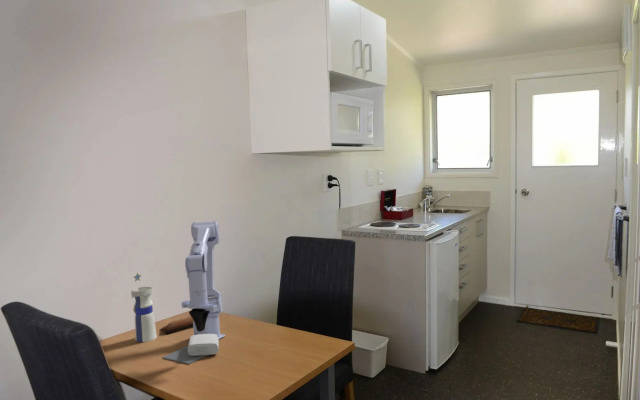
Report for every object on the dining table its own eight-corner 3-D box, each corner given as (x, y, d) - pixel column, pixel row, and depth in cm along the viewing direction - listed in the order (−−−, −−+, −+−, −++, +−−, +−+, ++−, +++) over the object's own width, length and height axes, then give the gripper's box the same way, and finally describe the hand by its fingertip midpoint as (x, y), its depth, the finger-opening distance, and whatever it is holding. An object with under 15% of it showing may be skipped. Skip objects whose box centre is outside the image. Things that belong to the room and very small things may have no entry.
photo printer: (187, 344, 157) (189, 332, 170) (187, 356, 158) (189, 344, 170) (218, 342, 159) (219, 331, 172) (218, 355, 160) (218, 343, 172)
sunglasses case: (198, 318, 202) (201, 307, 199) (205, 330, 198) (208, 318, 195) (157, 330, 190) (159, 318, 187) (164, 342, 186) (167, 330, 183)
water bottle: (128, 341, 178) (123, 276, 177) (144, 334, 186) (140, 271, 184) (146, 343, 175) (140, 277, 173) (161, 335, 183) (156, 272, 181)
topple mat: (162, 358, 160) (162, 357, 160) (188, 346, 170) (188, 345, 170) (189, 364, 154) (189, 363, 154) (214, 351, 164) (214, 350, 164)
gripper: (173, 291, 157) (176, 331, 158) (205, 295, 150) (208, 337, 151) (189, 286, 164) (191, 324, 164) (220, 290, 156) (223, 330, 157)
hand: (201, 330), depth 158 cm, fingers closed
